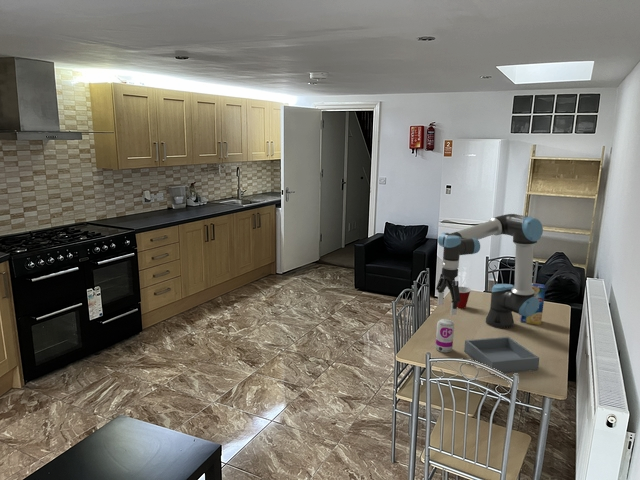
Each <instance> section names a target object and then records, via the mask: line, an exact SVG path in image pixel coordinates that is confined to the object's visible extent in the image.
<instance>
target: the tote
mask: <svg viewBox="0 0 640 480" xmlns="http://www.w3.org/2000/svg"><path fill="white" fill-rule="evenodd" d="M463 350H464V351H463V352H464V353H465V354H467V356H469V357H470V358H471V359H472V360H474V361H475V360H476V361H478V362H480V363H483V364H486V365H488V366H490V367H492V368H495V369H497V370H499V371H501V372H503V373H502V374H510V373H512V374H513V373H520V372H530V371H529V370H532V371H538V370H539V366H540V365H539V364H540V357H539V356H537V355H536V354H535V353H534V352H532V351H530V350H528V349H527V348H526V347H524V346H523V345H522V344H520V343H518V342H517V341H515V340H514V339H512V338H511V337H509V336H501V337H500V336H499V337H491V338H476V339H465V340H464V348H463ZM476 361H475V362H476ZM537 369H538V370H537Z"/></svg>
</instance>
